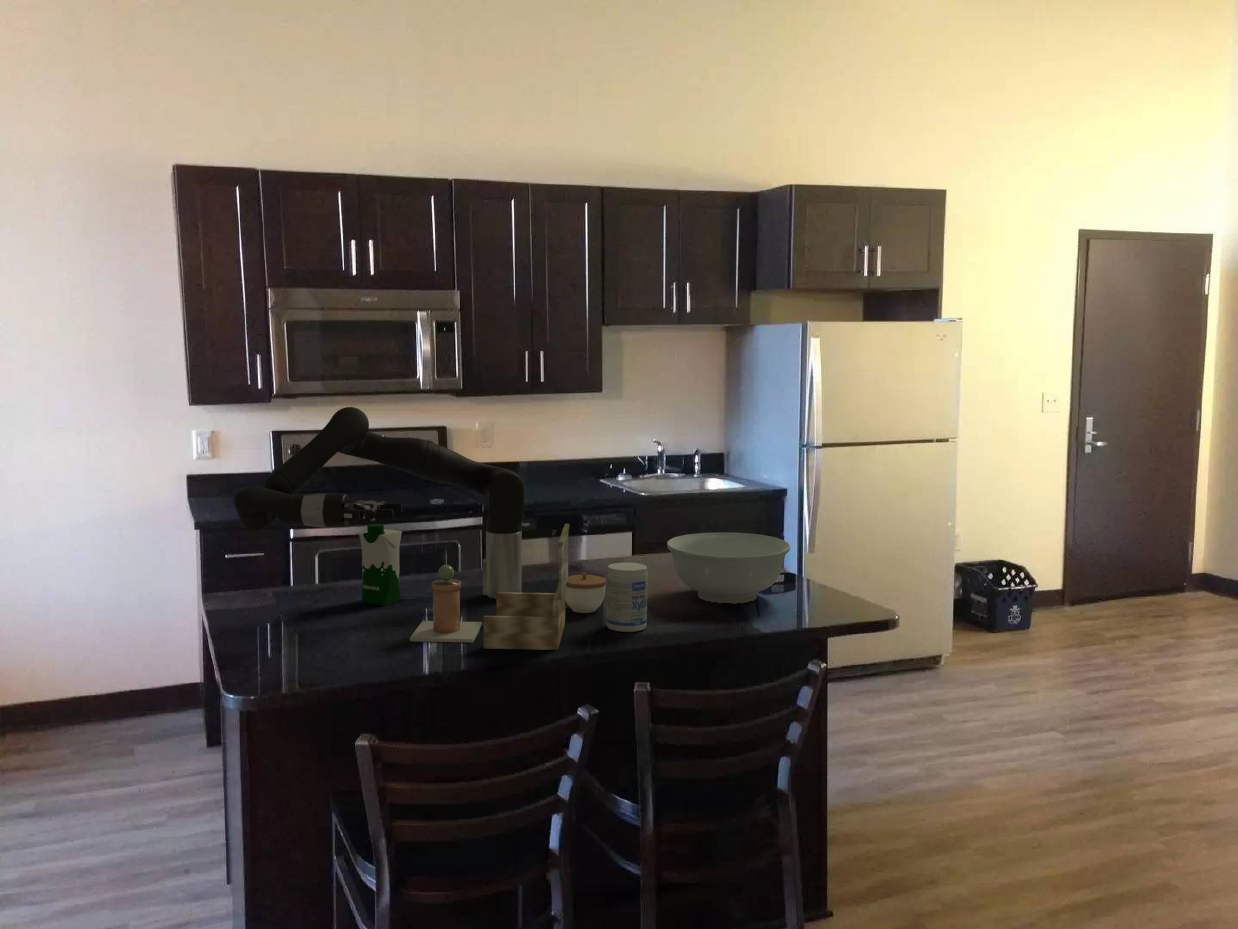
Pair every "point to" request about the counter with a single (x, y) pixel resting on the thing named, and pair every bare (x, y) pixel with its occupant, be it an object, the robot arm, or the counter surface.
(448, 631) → the terracotta pot
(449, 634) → the paving slab
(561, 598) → the cold frame
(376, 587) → the milk carton
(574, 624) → the counter surface
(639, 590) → the supplement tub
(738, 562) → the bowl
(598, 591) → the lidded jar
